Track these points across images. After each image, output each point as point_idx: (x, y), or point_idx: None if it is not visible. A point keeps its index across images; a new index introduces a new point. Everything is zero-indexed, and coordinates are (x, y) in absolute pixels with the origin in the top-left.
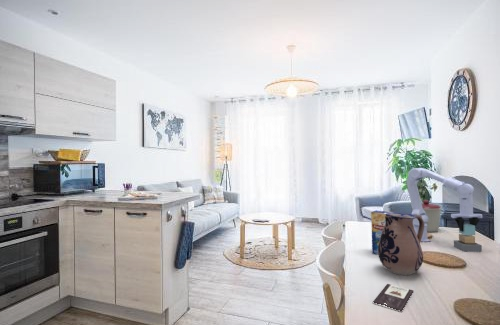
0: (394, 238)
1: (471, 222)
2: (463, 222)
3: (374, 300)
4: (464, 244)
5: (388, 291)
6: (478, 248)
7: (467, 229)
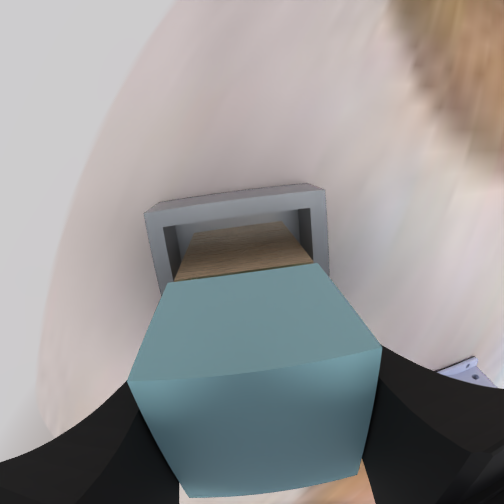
0: None
1: (160, 498)
2: (428, 414)
3: None
4: (308, 207)
5: None
6: (180, 202)
7: (299, 312)
